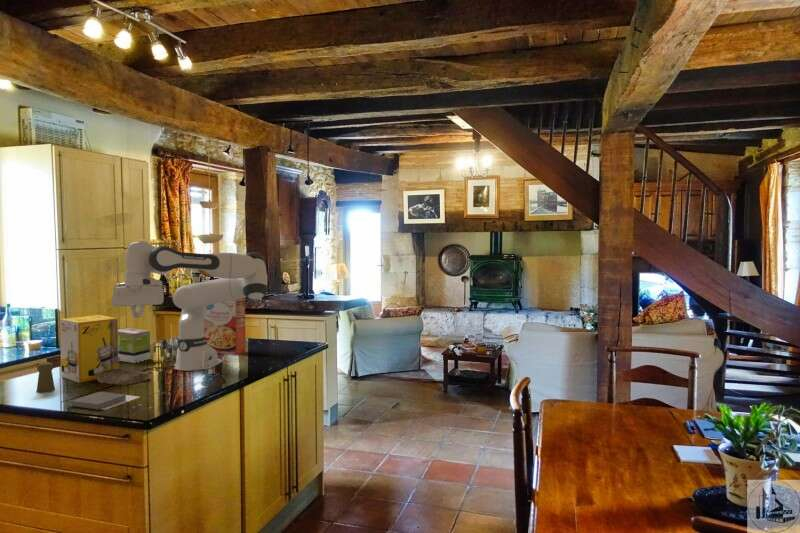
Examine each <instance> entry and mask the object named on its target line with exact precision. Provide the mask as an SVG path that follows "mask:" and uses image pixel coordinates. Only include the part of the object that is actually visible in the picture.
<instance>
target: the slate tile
mask: <svg viewBox="0 0 800 533" xmlns="http://www.w3.org/2000/svg"><path fill="white" fill-rule="evenodd" d="M126 395H127V394H123V393H115V392H107V391H97V392H95V393H91V394H88V395H85V396H82V397H79V398H75V399H73V400H71V402H70V406H71V407H78V408H83V409H84V408H85V409H91V410H102V409H101V408H104V407H107V406H110V405H112V404H115V403H118V402H121V401H124V400H126Z"/></svg>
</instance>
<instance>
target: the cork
mask: <svg viewBox="0 0 800 533" xmlns="http://www.w3.org/2000/svg"><path fill="white" fill-rule="evenodd" d="M36 368H37V372H38V379H37V385H36V393H39V394H44V393H46V394H47V393H50V392H53V391H56V389H55V388H56V387H55V382H54V377H53V370H54V364H53V362H47V361H44V362H41V363H38V364H37V367H36Z"/></svg>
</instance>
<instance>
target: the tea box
mask: <svg viewBox="0 0 800 533" xmlns="http://www.w3.org/2000/svg"><path fill="white" fill-rule="evenodd" d="M118 354H119V362H124V363H129V364H130V363H132V364H136V362H137V363H141V362H144V360H145V361H149V360H151V331H150V330H146V329H140V328H139V329H138V328H131V327H127V328H122V329H118ZM148 359H149V360H148ZM140 361H141V362H140Z"/></svg>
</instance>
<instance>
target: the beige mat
mask: <svg viewBox="0 0 800 533" xmlns="http://www.w3.org/2000/svg"><path fill="white" fill-rule="evenodd" d="M125 395H126V400H124V401H121V402H118V403H115V404H112V405H110V406H107V407H104V408H101V409H100V410H102V411H103V410H104V411H106V410H109V409H111V408H114V407H117V406H119V405H122V404H126V403H128V402H131V401H133V400H137V399H139V398H140V396H137V395H136V396H135V395H129V394H125Z"/></svg>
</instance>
